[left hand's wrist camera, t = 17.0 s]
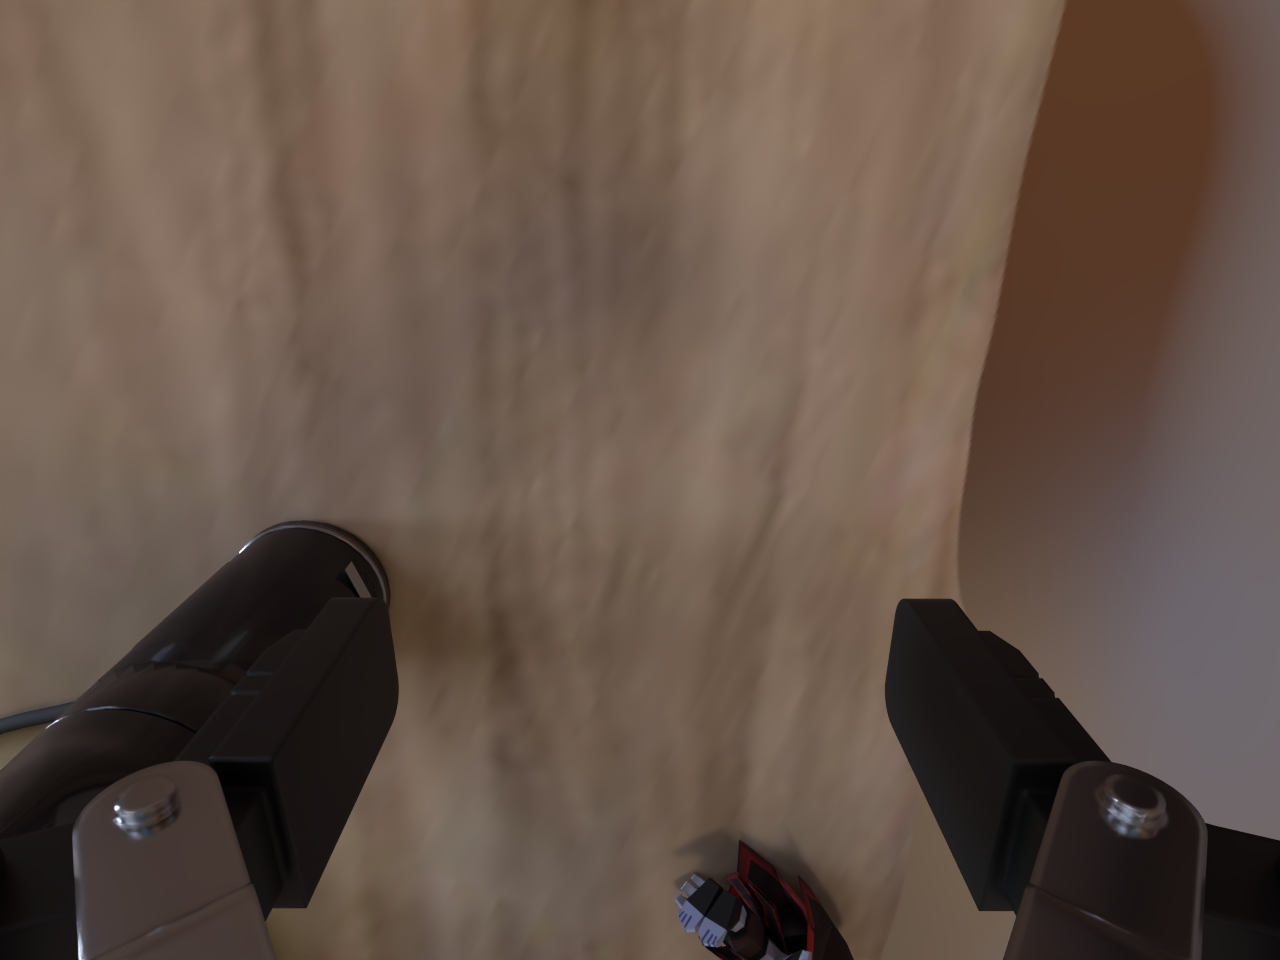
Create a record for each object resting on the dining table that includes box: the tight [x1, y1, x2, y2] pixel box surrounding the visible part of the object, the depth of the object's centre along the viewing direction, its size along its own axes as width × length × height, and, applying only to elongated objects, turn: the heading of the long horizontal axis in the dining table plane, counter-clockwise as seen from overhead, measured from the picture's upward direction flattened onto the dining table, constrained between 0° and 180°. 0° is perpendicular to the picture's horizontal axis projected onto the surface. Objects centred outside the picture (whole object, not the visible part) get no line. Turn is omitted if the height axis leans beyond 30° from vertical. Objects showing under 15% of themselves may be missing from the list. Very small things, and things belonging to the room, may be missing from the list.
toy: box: [675, 841, 854, 960], centre depth 52 cm, size 12×9×15 cm
